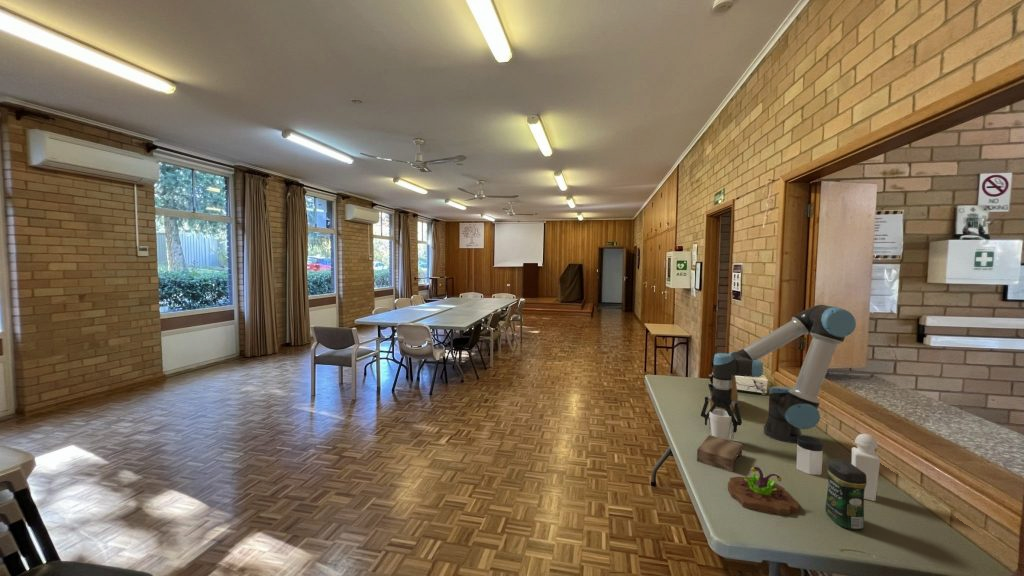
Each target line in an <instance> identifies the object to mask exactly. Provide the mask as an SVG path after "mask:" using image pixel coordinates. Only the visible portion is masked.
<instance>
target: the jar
mask: <svg viewBox="0 0 1024 576" xmlns="http://www.w3.org/2000/svg"><path fill="white" fill-rule="evenodd" d="M823 448H824V443H823V441H822V440H820V439H818V438H816V437H812V436H808V435H802V436H799V437H798V438H797V442H796V460H795V461H796V463H795V464H796V465H795V466H796V469H797V470H798V471H800V472H803V473H805V474H808V475H811V476H812V475H815V476H820V475H821V476H822V471H823V453H824V452H823V451H824V450H823Z"/></svg>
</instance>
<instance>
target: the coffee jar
mask: <svg viewBox="0 0 1024 576" xmlns="http://www.w3.org/2000/svg"><path fill="white" fill-rule="evenodd" d="M827 477H828V478H827V479H828V480H827V481H828V482H827V493H826V501H825V507H824V508H825V513H826V515H827V516H828V517H829V518H830V519H831V520H832V521H833V522H834V523H835V524H837V525H838V526H840V527H841V528H845V529H848V530H851V531H853V530H855V531H858V530H863V529H864V528H865V499H864V490H865V487H866V484H867V483H866V482H867V481H866V474H865V473H864V472H862V471H861V470H860V469H858V468H857V467H855V466H854V465H852V463H850V462H849V461H847V460H845V459H831V460H830V461H829V462H828V465H827Z"/></svg>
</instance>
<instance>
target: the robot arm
mask: <svg viewBox="0 0 1024 576" xmlns="http://www.w3.org/2000/svg"><path fill="white" fill-rule="evenodd" d="M856 327H857V321H856V319H855V316H854V315H853V313H851V312H850V311H849V310H846V309H845V308H841V307H836V306H830V305H825V304H818V305H813V306H810V307H809V308H807V309H804V310H803V311H800V312H799V313H797V314H795V315H794V316H792V317H791V320H790V321H788V322H786V323H785V324H783V325H782V326H780V327H778V328H776V329H774V330H772V331H771V332H769V333H767V334H766V335H764V336H763V337H761V338H759V339H757V340H755V341H753V343H750V344H748V345H747V346H745V347H743V348H741V349H740V350H738V351H731V352H729V353H724V352H717V353H715V354H714V356H713V359H714V362H713V364H714V368H712V370H713V386H714V387H713V394H712V397H710V395H706V396H705V397H704V404H703V407H702V410H701V413H700V417H703V418H704V425H705V426H706V434H709V433H711V424H710V417H709V412H711V413H712V412H713V410H714V409H715V408H716V407H718V408H723V409H725V410H726V411H727V413H728V415H729V416H731V421H732V423H731V428H730V441H733V440H734V439H735V433H737V431H738V426H741V425H742V424H743V421H742V417H741V412H740V408H739V406H740V405H739V403H740V402H739V401H737V402H734V401H732V400H731V389H730V388H731V387H732V376H735V377H736V376H737V377H747V378H749V377H750V378H761V377H762V376H763V373H764V366H763V363H762V361H760V359H762V358H763V357H766V356H767V355H769V354H771V353H772V352H774V351H776V350H778V349H780V348H782V347H783V346H785V345H787V344H788V343H790V342H792V341H794V340H796V339H798V338H799V337H801V336H803V335H811V337H812V339H811V341H810V344H809V346H808V349H807V352H806V355H805V357H804V360H803V362H802V365H801V369H800V371H799V373H798V375H797V379H796V381H795V384H794V387H787V386H772V387H770V388H769V392H768V394H769V398H768V416H767V420H766V421H765V423H764V425H763V434H764V435H766V436H767V437H769V438H771V439H775V440H777V441H781V442H788V443H797V438H798V437H799V436H803V432H802V430H808V429H813V428H814V427H816V426H818V423H819V422H820V419H821V414H820V411H819V410H818V408H819V406H820V403H821V402H820V399H819V398H818V395H819V393H820V391H821V388H822V385H823V384H824V383H823V382H824V380H825V377H826V375H827V372H828V369H829V367H830V365H831V361H832V360H833V357H834V353H835V351H836V348H837V346H838V345H840V344H843V343H844V341H845V338H846V337H847V336H849V335H851V334H853V332H854V331H855V329H856ZM710 400H712V401H713V403H714V405H713V406H712V407H711V409H710V408H709V410H708V412H707V408H708V405H709V404H710ZM730 404H733V407H734V409H733V411H734V413H733V411H731V408H730V406H729V405H730ZM706 412H707V413H706ZM734 414H735V415H734ZM709 435H710V434H709Z"/></svg>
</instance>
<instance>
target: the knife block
mask: <svg viewBox="0 0 1024 576" xmlns="http://www.w3.org/2000/svg"><path fill="white" fill-rule="evenodd" d="M713 362H714V358H712V359H711V360H710V365H711V368H712V369H711V371H712V372H711V373H710V374H709V373H708V374H709V375H708V377H709V381H710V383H708V389H709V391H710V393H709V397H712V394H713V387H714V386H713V368H714V364H713ZM730 389H731V400H732V401H734V402H738V400H739V398H738V397H739V394H738V386H737V379H736V376H732V387H731V388H730ZM713 405H714V403H713V401H712V400H710V401H709V407H710V408H709V410H710V409H711V407H712V406H713ZM729 406H730V408H731V411H732V412H733V411H734V407H733V404H730V405H729ZM714 410H724V411H726V410H725V409H723V408H718V407H716V408H715V409H714Z"/></svg>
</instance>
